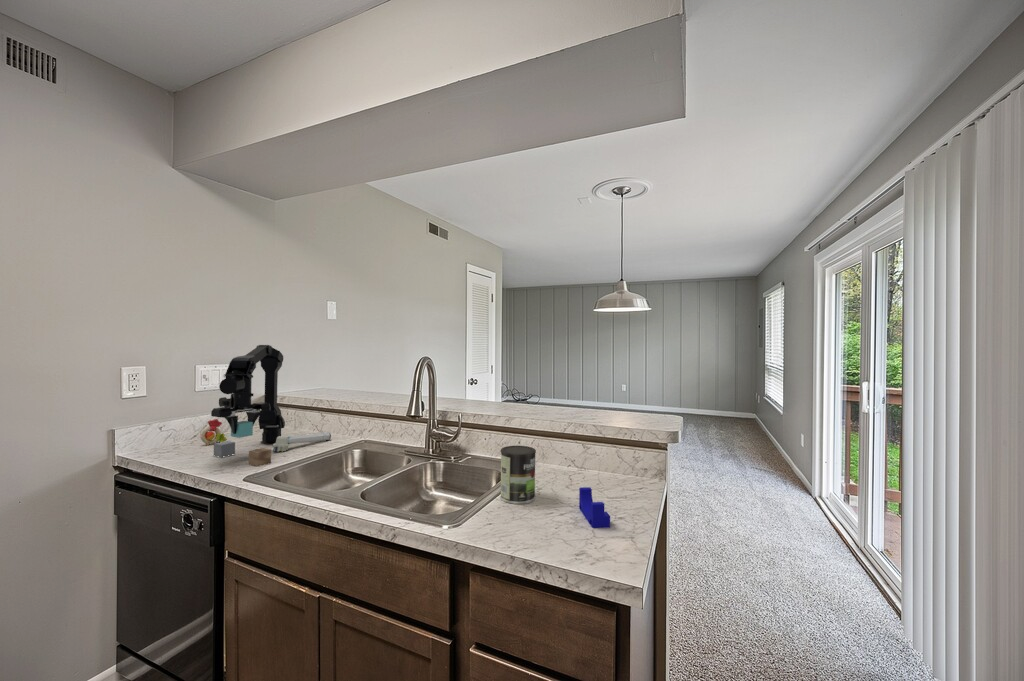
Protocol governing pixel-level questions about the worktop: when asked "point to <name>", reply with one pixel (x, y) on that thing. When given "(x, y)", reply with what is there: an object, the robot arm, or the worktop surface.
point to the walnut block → (260, 456)
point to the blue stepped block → (593, 509)
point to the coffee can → (518, 474)
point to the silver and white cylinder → (299, 440)
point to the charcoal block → (224, 448)
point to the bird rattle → (208, 436)
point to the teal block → (243, 429)
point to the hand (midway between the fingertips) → (241, 432)
